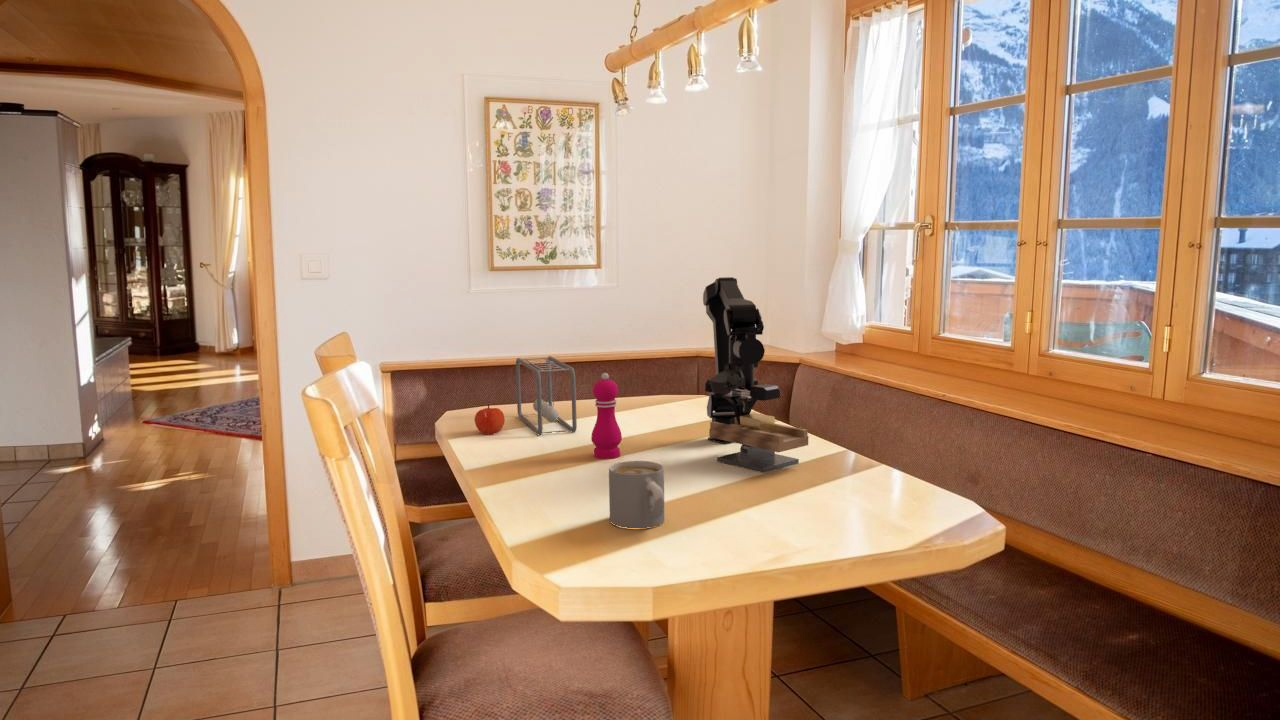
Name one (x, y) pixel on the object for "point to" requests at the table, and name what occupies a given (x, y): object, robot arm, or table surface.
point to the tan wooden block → (758, 422)
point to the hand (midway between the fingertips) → (741, 425)
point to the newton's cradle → (540, 404)
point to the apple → (489, 420)
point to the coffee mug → (636, 494)
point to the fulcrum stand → (757, 459)
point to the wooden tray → (761, 436)
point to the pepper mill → (606, 420)
